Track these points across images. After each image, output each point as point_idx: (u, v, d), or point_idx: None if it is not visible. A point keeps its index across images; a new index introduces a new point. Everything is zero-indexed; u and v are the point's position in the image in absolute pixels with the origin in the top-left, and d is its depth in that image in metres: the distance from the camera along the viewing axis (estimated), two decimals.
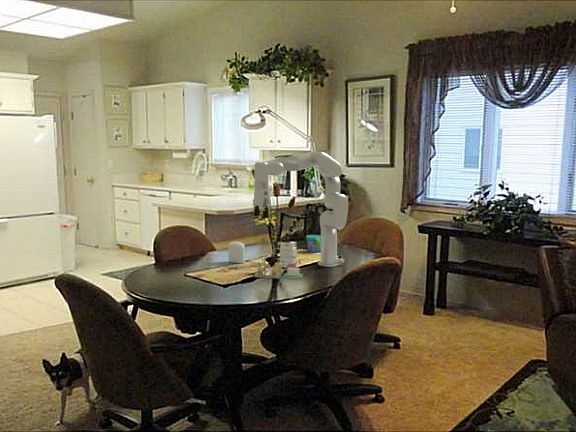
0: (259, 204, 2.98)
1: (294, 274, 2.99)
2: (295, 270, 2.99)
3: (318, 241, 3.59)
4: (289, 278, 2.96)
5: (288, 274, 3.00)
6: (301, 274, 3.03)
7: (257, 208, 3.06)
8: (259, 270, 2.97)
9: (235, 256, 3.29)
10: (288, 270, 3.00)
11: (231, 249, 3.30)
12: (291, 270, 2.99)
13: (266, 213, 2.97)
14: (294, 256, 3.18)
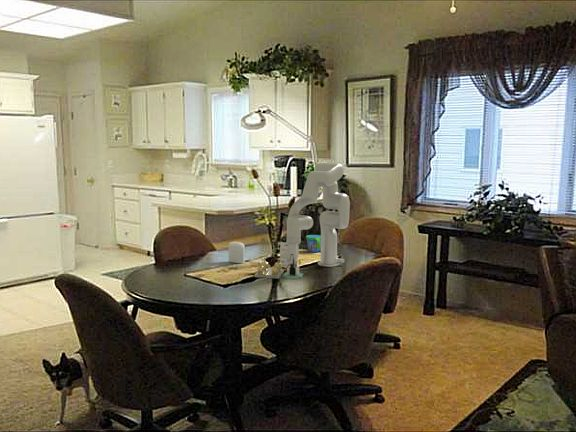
0: None
1: None
2: None
3: (318, 241, 3.59)
4: (289, 277, 2.96)
5: (288, 273, 3.00)
6: (301, 273, 3.03)
7: None
8: (259, 270, 2.97)
9: (235, 256, 3.29)
10: (288, 269, 2.99)
11: (231, 249, 3.30)
12: None
13: None
14: None
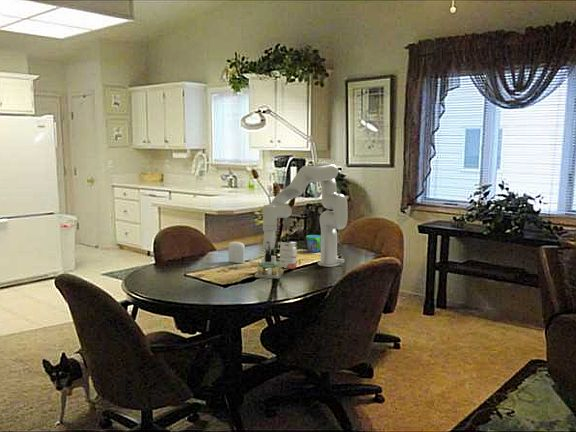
0: (274, 245, 3.04)
1: (270, 262, 3.01)
2: (271, 258, 3.00)
3: (318, 241, 3.59)
4: (265, 266, 2.97)
5: (264, 262, 3.01)
6: (278, 262, 3.04)
7: None
8: (259, 270, 2.97)
9: (235, 256, 3.29)
10: (264, 258, 3.01)
11: (231, 249, 3.30)
12: None
13: None
14: (294, 256, 3.18)
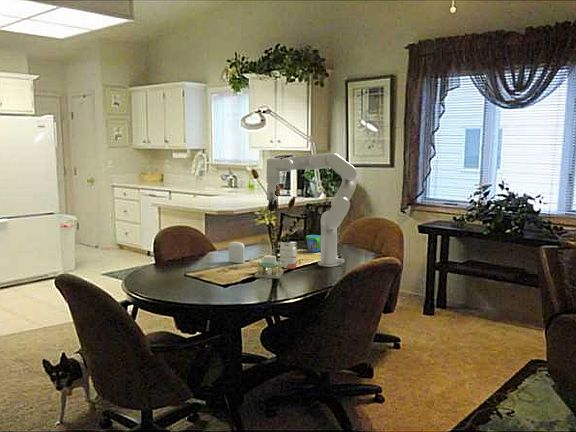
0: (277, 197, 3.23)
1: (270, 262, 3.01)
2: (271, 258, 3.00)
3: (318, 241, 3.59)
4: (265, 266, 2.97)
5: (264, 262, 3.01)
6: (278, 262, 3.04)
7: None
8: (259, 270, 2.97)
9: (235, 256, 3.29)
10: (264, 258, 3.01)
11: (231, 249, 3.30)
12: (267, 258, 3.01)
13: None
14: (294, 256, 3.18)
